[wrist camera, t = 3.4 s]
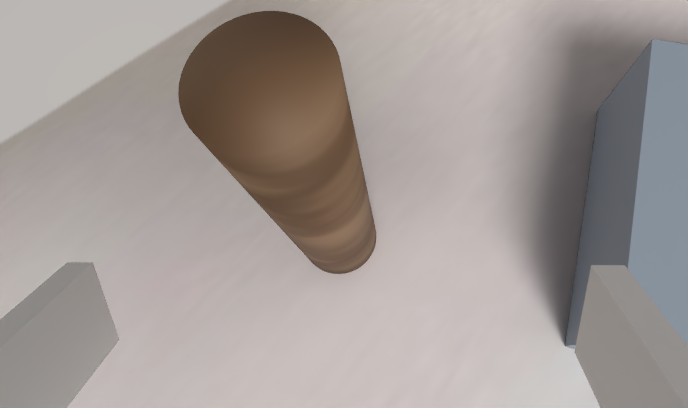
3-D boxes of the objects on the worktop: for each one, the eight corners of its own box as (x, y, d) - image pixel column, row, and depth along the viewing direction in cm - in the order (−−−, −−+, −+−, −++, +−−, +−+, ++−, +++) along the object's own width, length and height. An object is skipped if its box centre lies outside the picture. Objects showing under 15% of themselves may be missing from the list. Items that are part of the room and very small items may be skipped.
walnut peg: (293, 263, 25) (153, 136, 11) (315, 195, 26) (212, 0, 12) (365, 282, 24) (312, 172, 10) (384, 211, 25) (360, 23, 11)
